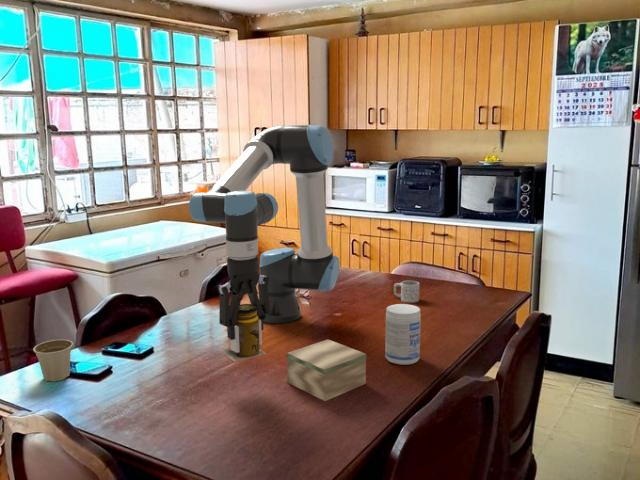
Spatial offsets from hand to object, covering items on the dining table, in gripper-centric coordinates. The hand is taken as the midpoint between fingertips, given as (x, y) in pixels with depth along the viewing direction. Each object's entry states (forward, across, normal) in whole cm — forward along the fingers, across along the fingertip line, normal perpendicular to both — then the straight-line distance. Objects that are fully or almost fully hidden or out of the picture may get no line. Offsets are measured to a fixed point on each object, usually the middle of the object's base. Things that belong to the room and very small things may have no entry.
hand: (246, 346), depth 146 cm
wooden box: (+11, +15, -12) cm, 22 cm away
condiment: (+2, -1, 0) cm, 2 cm away
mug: (+12, +86, +21) cm, 90 cm away
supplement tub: (+11, +41, -15) cm, 46 cm away
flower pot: (+10, -34, +39) cm, 52 cm away
